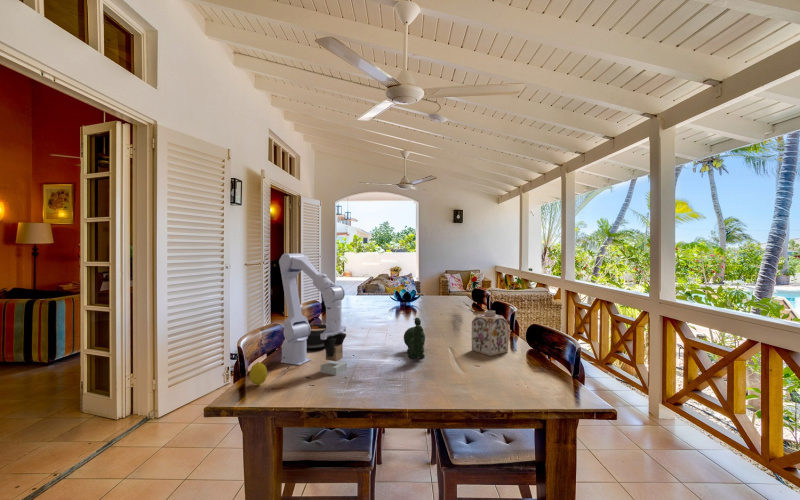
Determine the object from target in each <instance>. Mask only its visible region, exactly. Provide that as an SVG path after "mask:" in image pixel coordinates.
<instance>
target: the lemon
mask: <svg viewBox="0 0 800 500" xmlns="http://www.w3.org/2000/svg"><path fill="white" fill-rule="evenodd" d="M267 377H268V369H267V366H266V365H265V364H263V362H259V361H257V362H256V363H255V364H253V365H252V366H251V367H250V370H249V380H250V382H251V383H252V384H253V385H256V386H258V387H259V386H261V385H262V384H264V383H265V381H266V380H267Z"/></svg>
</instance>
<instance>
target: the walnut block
mask: <svg viewBox="0 0 800 500" xmlns="http://www.w3.org/2000/svg"><path fill="white" fill-rule="evenodd" d="M343 345H344V344H342V345H339V344H335V345H334V354H333V357H329V356H327V353H326V352H325V360H326V361H339V360H341V359H343V356H344V355H343V350H344V349H343Z"/></svg>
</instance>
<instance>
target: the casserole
mask: <svg viewBox="0 0 800 500" xmlns="http://www.w3.org/2000/svg"><path fill="white" fill-rule="evenodd" d="M309 325H310V327H311V333H310V335H309V336H308V339H306V342H307V349H319V348H323V347H324V348H325V346H324V344H323V342H322V341H321V339H320V334H322V333H323V332H324V331H325V330H326V324H320V323H317V324H309Z"/></svg>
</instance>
